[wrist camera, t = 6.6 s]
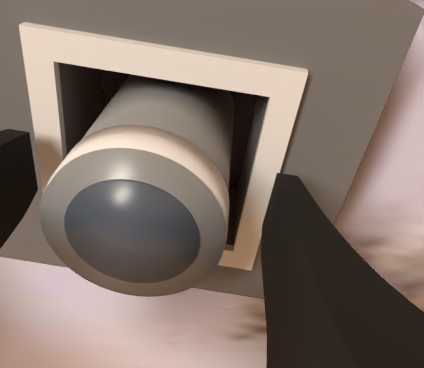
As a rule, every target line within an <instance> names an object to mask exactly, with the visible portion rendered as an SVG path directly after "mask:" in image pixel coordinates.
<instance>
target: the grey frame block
mask: <svg viewBox="0 0 424 368" xmlns="http://www.w3.org/2000/svg"><path fill="white" fill-rule="evenodd" d="M423 15H424V9H423V8H422V7H420V6H418V5H416V4H415V3H413V2H411V1H409V0H0V131H2V130H6V129H13V130H19V131H25V132H29V133H30V139H31V146H32V152H33V159H34V166H35V172H36V179H37V185H38V191H37V193H36V195H35V197H34V199H33V201H32V203H31V205H30V206H29V208H28V210H27V212H26V214H25V216H24V217H23V219H22V220H21V222H20V223H19V224H18V226H17V227H16V228H15V230H14V231H13V233H12V234H11V235H10V237H9V238H8V239H7V241H6V242H5V243H4V245H3V246H2V247H1V249H0V257H5V258H12V259H18V260H24V261H30V262H37V263H43V264H49V265H55V266H62V267H68V266H67V265H66V264H64V263H63V262H62V261H61V260H60V259H59V257H58V256H57V255H56V254H55V253H54V251H53V250H52V248H51V247H50V245H49V244H48V242H47V240H46V238H45V236H44V233H43V230H42V227H41V222H40V204H41V199H42V196H43V194H44V191H45V189H46V186H47V184H48V181H49V179H50V178H51V176H52V175H53V173H54V172H55V171H56V169H57V168H58V167H59V165H60V164H61V163H62V161H63V160H64V159H65V157H66V156H67V155H68V153H69V152H70V151H71V150H72V148H73V147H74V146H75V145H76V144H77V143H78V142H80V141H81V140H82V138H83V137H84V136H85V134H86V133H87V131H88V130H89V129H90V127H91V126H92V125H93V123H94V122H95V121H96V119H97V118H98V117H99V115H100V114H101V113H102V91H101V69H102V70H108V71H114V72H121V73H127V74H133V75H139V76H145V77H151V78H157V79H163V80H169V81H175V82H181V83H187V84H193V85H199V86H205V87H211V88H217V89H223V90H230V91H236V92H242V93H248V94H254V95H257V99H256V104H255V108H254V113H253V118H252V122H251V127H250V132H249V136H248V141H247V145H246V150H245V155H244V159H243V164H242V168H241V173H240V178H239V182H238V187H237V188H231V187H229V192H228V194H229V219H228V234H227V241H226V245H225V248H224V250H223V255H222V257H221V259H220V262H219V263H218V265H217V266H216V268H215V270H214V271H213V272H212V273H211V274H210V275H209V276H208V277H207V278H206V279H204V280H203V281H202V282H200V283H199V284H197V285H195V286H194V287H192V288H198V289H205V290H211V291H217V292H223V293H230V294H236V295H242V296H248V297H255V298H261V299H264V289H263V277H262V265H261V237H262V224H263V221H264V217H265V214H266V210H267V206H268V203H269V199H270V196H271V192H272V189H273V185H274V182H275V178H276V175H277V173H282V174H289V175H295V176H298V177H299V178H300V180H301V181H302V182H303V184H304V185H305V187H306V188H307V190H308V191H309V193H310V194H311V196H312V197H313V199H314V200H315V201H316V203H317V204H318V206H319V207H320V208H321V210H322V211H323V213H324V214H325V215H326V217H327V218H328V219H329V220H330V222H331V223H332V224H333V226H334V224H335V221H336V219H337V217H338V214H339V212H340V210H341V207H342V205H343V203H344V200H345V198H346V195H347V193H348V191H349V188H350V186H351V184H352V181H353V179H354V177H355V174H356V172H357V170H358V167H359V165H360V163H361V160H362V158H363V156H364V153H365V151H366V149H367V146H368V144H369V141H370V139H371V137H372V134H373V132H374V130H375V127H376V125H377V123H378V120H379V118H380V116H381V113H382V111H383V109H384V106H385V104H386V102H387V99H388V97H389V95H390V92H391V90H392V87H393V85H394V83H395V80H396V78H397V76H398V73H399V71H400V69H401V66H402V64H403V62H404V59H405V57H406V55H407V52H408V50H409V48H410V45H411V43H412V41H413V38H414V36H415V33H416V31H417V29H418V26H419V24H420V22H421V19H422V17H423ZM68 268H69V267H68Z"/></svg>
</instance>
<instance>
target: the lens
mask: <svg viewBox="0 0 424 368" xmlns="http://www.w3.org/2000/svg"><path fill="white" fill-rule="evenodd" d="M233 124H234V104H233V100H232V96H231V93H230V91H229V90H223V89H217V88H211V87H205V86H199V85H193V84H187V83H181V82H175V81H169V80H163V79H157V78H151V77H145V76H139V75H133V74H130V75H129V76H128V78H127V79H126V80H125V82H124V83H123V84H122V86H121V87H120V88H119V90H118V91H117V92H116V94H115V95H114V96H113V98H112V99H111V100H110V102H109V103H108V105H107V106H106V107H105V109H104V110H103V111H102V113H101V114H100V115H99V117H98V118H97V119H96V121H95V122H94V123H93V125H92V126H91V127H90V129H89V130H88V131H87V133H86V134H85V136H84V137H83V138H82V140H81V141H80V142H78V143H77V144H76V145H75V146H74V147H73V148H72V150H71V151H70V152H69V153H68V155H67V156H66V157H65V159H64V160H63V161H62V163H61V164H60V165H59V167H58V168H57V169H56V171H55V172H54V173H53V175H52V176H51V178H50V179H49V181H48V184H47V186H46V189H45V191H44V194H43V196H42V199H41V204H40V222H41V227H42V230H43V233H44V236H45V238H46V240H47V242H48V244H49V245H50V247H51V248H52V250H53V251H54V253H55V254H56V255H57V256H58V257H59V259H60V260H61V261H62V262H63V263H64V264H66V265H67V266H68V267H69V268H70V269H71V270H73V271H74V272H75V273H77V274H78V275H80V276H81V277H83V278H84V279H86V280H88V281H90V282H92V283H94V284H96V285H98V286H100V287H103V288H105V289H108V290H111V291H114V292H119V293H123V294H128V295H134V296H164V295H170V294H175V293H178V292H182V291H185V290H187V289H189V288H192V287H194V286H195V285H197V284H199V283H200V282H202V281H203V280H204V279H206V278H207V277H208V276H209V275H210V274H211V273H212V272H213V271H214V270H215V268H216V266H217V265H218V263H219V262H220V259H221V257H222V255H223V250H224V248H225V245H226V241H227V234H228V219H229V194H228V192H229V179H230V165H231V151H232V137H233Z"/></svg>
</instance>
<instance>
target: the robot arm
mask: <svg viewBox="0 0 424 368" xmlns="http://www.w3.org/2000/svg"><path fill="white" fill-rule="evenodd" d="M37 191H38V185H37V179H36V172H35V166H34V159H33V152H32V146H31V139H30V133H29V132H25V131H19V130H13V129H6V130H2V131H0V249H1V247H2V246H3V245H4V243H5V242H6V241H7V239H8V238H9V237H10V235H11V234H12V233H13V231H14V230H15V228H16V227H17V226H18V224H19V223H20V222H21V220H22V219H23V217H24V216H25V214H26V212H27V210H28V208H29V206H30V205H31V203H32V201H33V199H34V197H35V195H36V193H37ZM261 265H262V277H263V289H264V300H265V311H266V324H267V368H424V312H423V311H421V310H420V309H419V308H418V307H416V306H415V305H414V304H412V303H411V302H410V301H409V300H408V299H406V298H405V297H404V296H403V295H402V294H400V293H399V292H398V291H397V290H396V289H395V288H393V287H392V286H391V285H390V284H389V283H388V282H386V281H385V280H384V279H383V278H382V277H381V276H380V275H379V274H378V273H377V272H376V271H375V270H374V269H373V268H372V267H371V266H370V265H369V264H368V263H366V262H365V261H364V260H363V259H362V258H361V257H360V256H359V254H358V253H357V252H356V251H355V250H354V249H353V248H352V247H351V246H350V245H349V243H348V242H347V241H346V240H345V239H344V238H343V236H342V235H341V234H340V233H339V232H338V231H337V229H336V228H335V227H334V226H333V224H332V223H331V222H330V220H329V219H328V218H327V217H326V215H325V214H324V213H323V211H322V210H321V208H320V207H319V206H318V204H317V203H316V201H315V200H314V199H313V197H312V196H311V194H310V193H309V191H308V190H307V188H306V187H305V185H304V184H303V182H302V181H301V180H300V178H299V177H298V176H295V175H289V174H282V173H277V175H276V178H275V182H274V185H273V189H272V192H271V196H270V199H269V203H268V206H267V210H266V214H265V217H264V221H263V224H262V237H261Z"/></svg>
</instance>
